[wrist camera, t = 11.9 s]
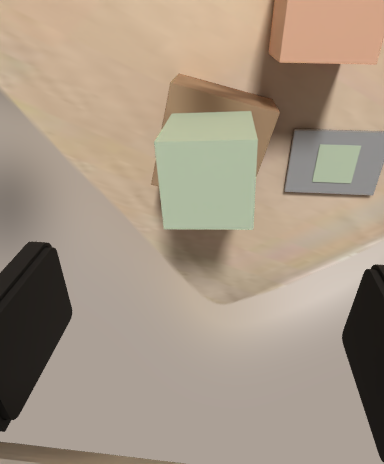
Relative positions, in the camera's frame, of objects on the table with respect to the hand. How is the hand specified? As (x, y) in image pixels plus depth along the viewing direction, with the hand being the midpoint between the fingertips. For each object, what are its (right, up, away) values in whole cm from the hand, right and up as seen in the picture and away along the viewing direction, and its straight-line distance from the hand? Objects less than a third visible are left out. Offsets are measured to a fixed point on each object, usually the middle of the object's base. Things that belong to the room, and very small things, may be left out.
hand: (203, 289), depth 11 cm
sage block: (+1, +7, +12) cm, 14 cm away
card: (+11, +7, +16) cm, 21 cm away
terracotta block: (+7, +16, +11) cm, 21 cm away
